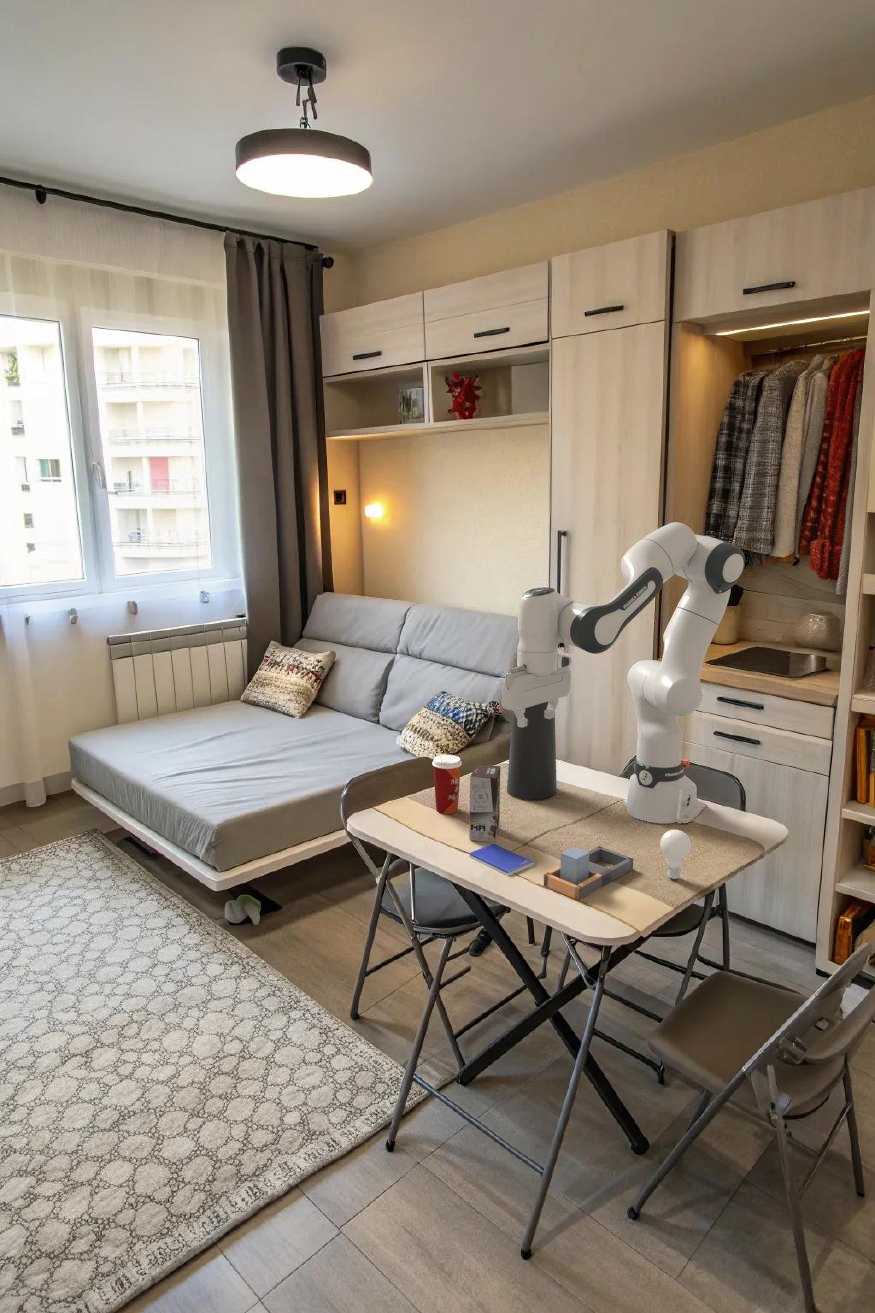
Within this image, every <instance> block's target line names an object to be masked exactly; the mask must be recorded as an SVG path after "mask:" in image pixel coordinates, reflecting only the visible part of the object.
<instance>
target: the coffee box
mask: <svg viewBox="0 0 875 1313" xmlns="http://www.w3.org/2000/svg"><path fill="white" fill-rule="evenodd" d="M469 778H470V779H469V780H470V783H469V832H468V833H469V834H468V835H469V836H468V838H469V840H470V841H476V842H486V843H487V842H488V843H494V842H495V841H496V839H497V836H498V832H499V830H500V818H501V817H500V816H501V814H500V813H501V812H500V811H501V810H500V809H501V806H500V804H501V801H500V800H501V765H488V764H487V765H486V764H484V765H482V764H481V765H480V764H475V766H474V768H473V770H472V772H471V774H470V777H469Z"/></svg>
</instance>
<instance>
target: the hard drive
mask: <svg viewBox="0 0 875 1313" xmlns="http://www.w3.org/2000/svg"><path fill="white" fill-rule="evenodd" d="M469 858H471V859H473V860H475V861H477V862H479V863H480V864H483V865H484V866H487V867H489V868H491V869H493V870H495V871H496V872H499V873H501V874H503V875H505V876H507V877H509V876H512V875H514V874H516V873H518V872H521V871H524V870H527V869H528V868H531V867H533V866H534V865H535V862H534V860H531V859H529V858H527V857H525V856H523V855H520V854H518V853H516V852H513V851H511V850H509V849H507V848H505V847H502V846H501V845H498V844H496V843H492V844H489V845H487V846H484V847H481V848H479V849H476V850H473V851H470V852H469Z"/></svg>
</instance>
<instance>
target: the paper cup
mask: <svg viewBox="0 0 875 1313" xmlns="http://www.w3.org/2000/svg"><path fill="white" fill-rule="evenodd" d="M431 764H432V766H433V780H434V781H433V782H434V797H435V800H434V801H435V810H436V812H437V813H439V814H441V813H443V815H453V814H455V813H457V812H458V809H459V797H460V785H461V784H460V781H461V767H462V765H463V763H462V761H461V758H460V756H457V755H453V754H441V755H437V756H435V757H434V758H433V760H432V763H431Z"/></svg>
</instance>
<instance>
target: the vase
mask: <svg viewBox="0 0 875 1313" xmlns="http://www.w3.org/2000/svg"><path fill="white" fill-rule="evenodd" d="M548 703H549V702H544V703H541V704H538V705H534V706H531V707H527V708H525V713H523V714H524V717H525V718H526V719H528V725H527V726H526V727H523V728H521V727H518V725H517V718H516V716H515V714H514V711H512V718H511V728H510V730H511V731H510V742H509V744H510V745H509V755H508V768H507V769H508V770H507V781H506V782H507V783H506V784H507V785H506V793H507V794H508V795H509V796H510V797H513V798H515V799H518V800H522V801H527V802H528V801H529V802H533V801H534V802H535V801H537V802H538V801H546V800H550V799H553V798H555V797H556V795H557V793H558V792H557V791H558V788H557V786H558V784H557V781H558V780H557V750H556V749H557V747H556V712H555V711H556V710H555V711H554V718H551V719H547V718H545V717H544V715H545V714H544V710H546V709H547V706H548Z"/></svg>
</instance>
